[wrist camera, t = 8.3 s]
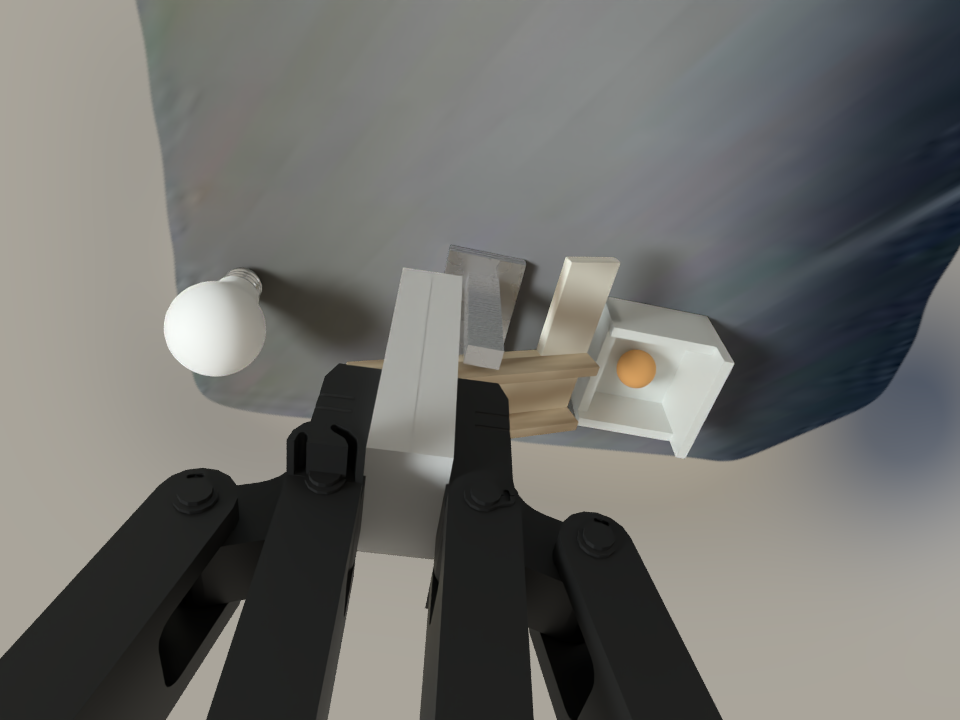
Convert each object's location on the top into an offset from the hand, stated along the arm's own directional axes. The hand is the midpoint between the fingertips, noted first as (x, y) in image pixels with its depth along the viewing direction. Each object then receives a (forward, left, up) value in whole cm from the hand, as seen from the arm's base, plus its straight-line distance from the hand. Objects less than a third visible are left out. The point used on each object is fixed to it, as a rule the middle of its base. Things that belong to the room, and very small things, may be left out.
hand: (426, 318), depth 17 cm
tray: (+19, +20, -33) cm, 43 cm away
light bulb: (+19, -13, -33) cm, 40 cm away
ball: (+19, +19, -31) cm, 41 cm away
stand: (+19, +5, -33) cm, 38 cm away
